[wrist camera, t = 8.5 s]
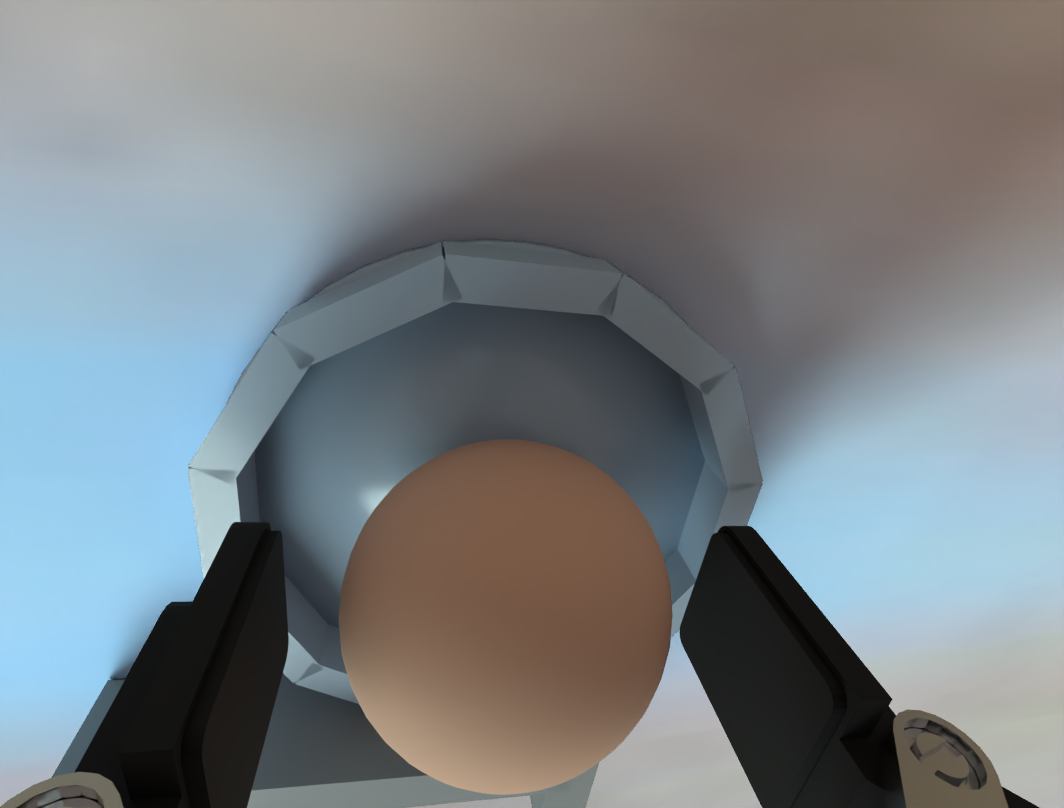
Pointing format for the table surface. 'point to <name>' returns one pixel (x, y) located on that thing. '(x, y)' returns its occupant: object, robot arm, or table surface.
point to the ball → (505, 616)
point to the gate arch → (334, 760)
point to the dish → (468, 412)
